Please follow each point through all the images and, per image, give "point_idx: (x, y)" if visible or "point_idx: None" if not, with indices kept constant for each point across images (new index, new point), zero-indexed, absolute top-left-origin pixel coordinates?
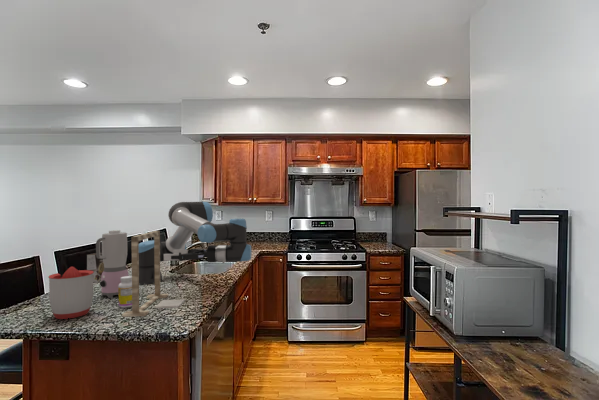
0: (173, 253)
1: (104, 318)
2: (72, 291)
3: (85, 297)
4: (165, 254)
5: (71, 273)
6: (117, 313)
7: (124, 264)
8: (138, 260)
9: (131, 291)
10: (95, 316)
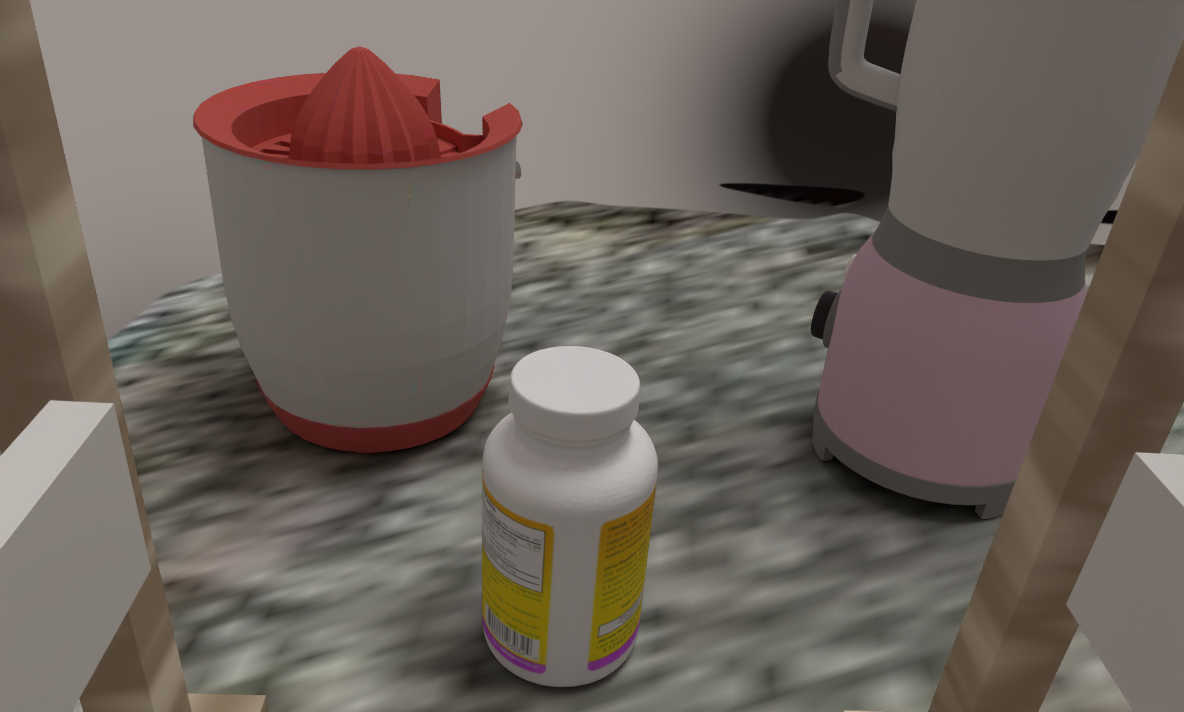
0: (1096, 551)
1: (187, 588)
2: (221, 241)
3: (286, 337)
4: (15, 444)
5: (310, 101)
6: (311, 634)
7: (1025, 244)
8: (16, 226)
9: (518, 555)
10: (284, 516)
